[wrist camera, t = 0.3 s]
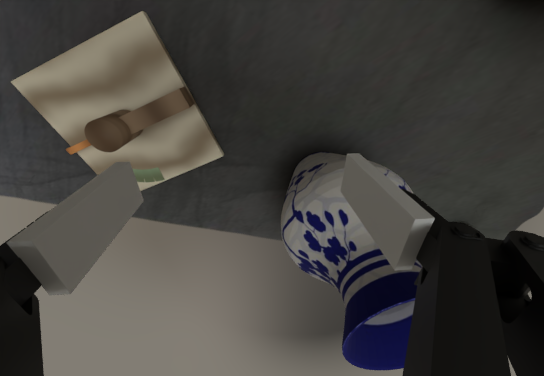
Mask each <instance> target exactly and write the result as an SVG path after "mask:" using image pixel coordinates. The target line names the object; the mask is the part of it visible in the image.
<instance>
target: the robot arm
mask: <svg viewBox="0 0 544 376" xmlns="http://www.w3.org/2000/svg"><path fill="white" fill-rule="evenodd" d="M341 193H342V194H343V196H344V197H345V199H346V200H347V202H348V203H349V205H350V206H351V208H352V209H353V210H354V212H355V213H356V215H357V216H358V218H359V219H360V221H361V222H362V224H363V225H364V227H365V228H366V230H367V231H368V232H369V234H370V235H371V237H372V238H373V240H374V241H375V243H376V244H377V246H378V247H379V249H380V250H381V251H382V253H383V254H384V256H385V257H386V259H387V260H388V262H389V263H390V265H391V266H392V268H393V269H394V271H396V270H410V269H412V268H413V265H414V263H415V261H416V259H417V260H418V261H419V263H420V264H421V265H422V269H421V271H420V273H419V275H418V277H417V279H416V281H415V283H414V285H416V286H417V291H416V297H415V303H414V309H413V315H412V321H411V327H410V334H409V340H408V346H407V352H406V358H405V364H404V371H403V376H511V373H510V367H509V362H508V358H509V360H510V362H511V364H512V366H513V368H514V371H515V373H516V375H517V376H544V237H541V236H537V235H536V234H533V233H528V232H523V231H511V232H509V234H508V235H507V236H506V238H505V239H504V241H503V240H497V239H490V238H485V236H484V235H483V234H482V233H480V232H479V231H478V230H476V229H474V228H472V227H470V226H468V225H465V224H462V223H457V222H448V221H447V220H445V219H444V218H443V217H442V216H440V215H439V214H438V213H437V212H435V211H434V210H433V209H432V208H431V207H429V206H427V204H426V203H424V202H423V201H421V199H420V198H418V197H417V196H416V195H415V194H413V193H411V192H409V191H407V190H405V189H400V188H399V187H398V186H397V185H396V184H394V183H393V182H392V181H391V180H390V179H388V178H387V177H386V176H385V175H384V174H383V173H381V172H380V171H379V170H378V169H377V168H376V167H374V166H373V165H372V164H371V163H370V162H369V161H367V160H366V159H365V158H364V157H363V156H362V155H360V154H359V153H352V154H347V157H346V163H345V168H344V174H343V180H342V186H341ZM143 201H144V200H143V197H142V194H141V192H140V189H139V186H138V183H137V180H136V178H135V175H134V172H133V169H132V166H131V164H130V162H116V163H114V164H113V165H111V166H110V167H109V168H107V169H106V170H105V171H103V172H102V173H101V174H99V175H98V176H96V177H95V178H94V179H92V180H91V181H90V182H88V183H87V184H86V185H84V186H83V187H81V188H80V189H79V190H77V191H76V192H75V193H73V194H72V195H70V196H69V197H68V198H66V199H65V200H64V201H62V202H61V203H60V204H58V205H57V206H56V207H54V208H53V209H51V210H50V211H48V212H46V213H45V214H43V215H42V216H41V217H39V218H38V219H36V220H35V222H32V223H31V224H30V225H28V226H27V228H24V229H23V230H21V231H20V232H19V233H18V234H16V235H15V236H13V237H12V238H10V239H9V240H8V241H6V242H5V243H3V244H2V245H1V246H0V376H44V374H43V359H42V344H41V330H40V314H39V300H38V298H37V297H36V296H35V295H34V293H35V292H36V290H38V289H39V287H40V286H41V285H42V287H43V288H44V289H45V290H46V291H47V293H48V294H49V295H62V294H71V293H72V292H73V290H74V289H75V288H76V287H77V285H78V284H79V283H80V281H81V280H82V279H83V278H84V276H85V275H86V274H87V273H88V271H89V270H90V269H91V267H92V266H93V265H94V264H95V262H96V261H97V260H98V258H99V257H100V256H101V255H102V253H103V252H104V251H105V250H106V248H107V247H108V246H109V244H110V243H111V242H112V241H113V239H114V238H115V237H116V235H117V234H118V233H119V232H120V230H121V229H122V228H123V227H124V225H125V224H126V223H127V221H128V220H129V219H130V218H131V216H132V215H133V214H134V213H135V211H136V210H137V209H138V207H139V206H140V205H141V204H142V202H143ZM530 290H531V294H532V299H530V297H529V296H528V292H529V291H530ZM507 355H508V356H507Z"/></svg>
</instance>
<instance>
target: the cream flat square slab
mask: <svg viewBox="0 0 544 376" xmlns="http://www.w3.org/2000/svg"><path fill="white" fill-rule="evenodd" d="M11 83H12V84H13V85H14V86H15V87H16V88H17V89H18V90H19V91H20V92H21V93H22V94H23V96H24V97H25V98H26V99H27V100H28V101H29V102H30V103H31V104H32V105H33V106H34V107H35V108H36V109H37V111H38V112H39V113H40V114H41V115H42V116H43V117H44V118H45V119H46V120H47V121H48V122H49V123H50V124H51V125H52V127H53V128H54V129H55V130H56V131H57V132H58V133H59V134H60V135H61V136H62V137H63V138H64V139H65V140H66V142H67V143H68V144H69V145H70V146H71V147H72V146H74V145H76V144H78V143H80V142H82V141H84V140H86V136H85V133H84V129H85V126H86V124H87V123H88V122H90V121H92V120H95V119H97V118H100V117H103V116H105V115H108V114H111V113H113V112H116V111H119V110H123V109H124V110H129V111H133V110H135V109H137V108H139V107H142V106H144V105H146V104H148V103H150V102H152V101H154V100H156V99H158V98H160V97H163V96H165V95H167V94H169V93H171V92H173V91H175V90H177V89H180V88H182V87H186V89H187V91H188V93H189V94H190V96H191V98H192V100H193V102H194V103H195V104H194V105H192V106H191V107H190V108H188V109H185V110H183V111H181V112H179V113H177V114H175V115H172V116H170V117H168V118H166V119H164V120H162V121H159V122H157V123H155V124H153V125H151V126H148V127H146V128H144V129H143V131H142V133H141V134H140V135H139V136H138V137H136V138H135V139H133V140H132V141H130V142H129V143H127V144H126V145H124V146H123V147H121V148H120V149H118V150H117V151H114V152H103V151H100V150H98V149H96V148H95V147H93V146H92V145H91V146H88V147H86V148H84V149H82V150H80V151H78V152H77V153H78V154H79V155H80V156H81V158H82V159H83V160H84V161H85V162H86V163H87V164H88V165H89V166H90V167H91V168H92V169H93V170H94V171H95V172H96V174H97V175H99V174H101V173H102V172H103V171H105V170H106V169H107V168H109V167H110V166H111V165H113V164H114V163H116V162H130V164H131V166H132V169H133V172H134V175H135V178H136V180H137V183H138V186H139V189H140V191H142V190H144V189H146V188H149V187H151V186H154V185H156V184H158V183H161V182H163V181H166V180H168V179H170V178H173V177H175V176H178V175H180V174H182V173H185V172H187V171H189V170H192V169H194V168H197V167H199V166H201V165H204V164H206V163H209V162H211V161H213V160H216V159H218V158H221V157H223V156H224V152H223V151H222V149H221V147H220V145H219V143H218V142H217V140H216V138H215V136H214V134H213V132H212V131H211V129H210V127H209V125H208V123H207V122H206V120H205V118H204V116H203V114H202V113H201V111H200V109H199V107H198V105H197V104H196V102H195V100H194V98H193V96H192V95H191V93H190V91H189V89H188V87H187V86H186V84H185V82H184V80H183V78H182V76H181V75H180V73H179V71H178V69H177V67H176V66H175V64H174V62H173V60H172V58H171V57H170V55H169V53H168V51H167V49H166V48H165V46H164V44H163V42H162V40H161V39H160V37H159V35H158V33H157V31H156V29H155V28H154V26H153V24H152V22H151V20H150V19H149V17H148V15H147V13H146V12H144V11H141V12H139V13H137V14H136V15H134V16H132V17H130V18H128V19H126V20H124V21H123V22H121V23H119V24H117V25H115V26H113V27H111V28H110V29H108V30H106V31H104V32H102V33H100V34H98V35H97V36H95V37H93V38H91V39H89V40H87V41H85V42H83V43H82V44H80V45H78V46H76V47H74V48H72V49H70V50H69V51H67V52H65V53H63V54H61V55H59V56H57V57H56V58H54V59H52V60H50V61H48V62H46V63H44V64H43V65H41V66H39V67H37V68H35V69H33V70H31V71H29V72H28V73H26V74H24V75H22V76H20V77H18V78H16V79H15V80H13V81H11Z"/></svg>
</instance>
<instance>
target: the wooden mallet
mask: <svg viewBox="0 0 544 376" xmlns="http://www.w3.org/2000/svg"><path fill="white" fill-rule="evenodd" d="M194 104H195V103H194V102H193V100H192V98H191V96H190V94H189V93H188V91H187V89H186V87H182V88H180V89H177V90H175V91H173V92H171V93H169V94H167V95H165V96H163V97H160V98H158V99H156V100H154V101H152V102H150V103H148V104H146V105H144V106H142V107H139V108H137V109H135V110H133V111H129V110H124V109H123V110H119V111H116V112H113V113H111V114H108V115H105V116H103V117H100V118H97V119H95V120H92V121H90V122H88V123H87V124H86V126H85V129H84V133H85V136H86V140H84V141H82V142H80V143H78V144H76V145H74V146H72V147H69V148H67V149H66V150H67V151H68V152H69V153H70V155H71V154H73V153H75V152H78V151H80V150H82V149H84V148H86V147H88V146H91V145H92V146H93V147H95V148H96V149H98V150H100V151H103V152H114V151H117V150H118V149H120V148H121V147H123V146H124V145H126V144H127V143H129V142H130V141H132V140H133V139H135V138H136V137H138V136H139V135H140V134H141V133H142V131H143V129H144V128H146V127H148V126H151V125H153V124H155V123H157V122H159V121H162V120H164V119H166V118H168V117H170V116H172V115H175V114H177V113H179V112H181V111H183V110H185V109H188V108H190V107H191V106H192V105H194Z"/></svg>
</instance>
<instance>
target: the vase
mask: <svg viewBox="0 0 544 376" xmlns="http://www.w3.org/2000/svg"><path fill="white" fill-rule="evenodd" d="M346 157H347V156H346V155H340V154H334V153H330V152H316V153H313V154H310V155H308V156H307V157H305V158H303V159H302V160H301V161H300V162H299V163H298V165H297V166H296V168H295V170H294V173H293V176H292V179H291V181H290V184H289V187H288V190H287V193H286V197H285V201H284V205H283V209H282V214H281V235H282V239H283V243H284V246H285V248H286V250H287V251H288V254H289V255H290V257H291V259H292V260H293V261H294V262H295V263H296V264H297V265H298V266H299V267H300V268H301V269H302V270H303V271H305V272H306V273H308V274H309V275H311V276H313V277H315V278H317V279H320V280H322V281H325V282H327V283H329V284H331V285H332V286H334V287H335V288H336V289H337V290H338V291H339V292H340V294H341V296H342V298H343V301H344V304H345V311H346V314H345V326H344V334H343V343H342V350H343V355H344V357H345V359H346V360H347V361H348V362H349V363H351V364H352V365H354V366H357V367H360V368H363V369H369V370H393V369H401V368H404V364H405V358H406V352H407V346H408V340H409V334H410V327H411V321H412V315H413V309H414V303H415V297H416V291H417V286H416V285H414V283H415V281H416V279H417V277H418V275H419V273H420V271H421V269H422V267H421V266H420V264H419V263H418V262H417V260H416V261H415V263H414V265H413V268H412V269H410V270H396V271H394V269H393V268H392V266H391V265H390V263H389V262H388V260H387V259H386V257H385V256H384V254H383V253H382V251H381V250H380V249H379V247H378V246H377V244H376V243H375V241H374V240H373V238H372V237H371V235H370V234H369V232H368V231H367V230H366V228H365V227H364V225H363V224H362V222H361V221H360V219H359V218H358V216H357V215H356V213H355V212H354V210H353V209H352V208H351V206H350V205H349V203H348V202H347V200H346V199H345V197H344V196H343V194H342V193H341V186H342V180H343V174H344V168H345V163H346ZM367 161H368V160H367ZM369 162H370V163H371V164H372V165H373V166H374V167H376V168H377V169H378V170H379V171H380V172H381V173H383V174H384V175H385V176H386V177H387V178H388V179H390V180H391V181H392V182H393V183H394V184H396V185H397V186H398V187H399V188H400V189H405V190H407V191H409V192H411V193H413V192H412V190H411V189H410V187H409V186H408V185H407V183H406V182H405V181H404V180H403V179H402V178H401V177H400V176H398V175H397V174H395V173H394V172H392V171H391V170H389V169H388V168H386V167H384V166H382V165H380V164H377V163H375V162H372V161H369ZM413 194H414V193H413Z"/></svg>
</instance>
